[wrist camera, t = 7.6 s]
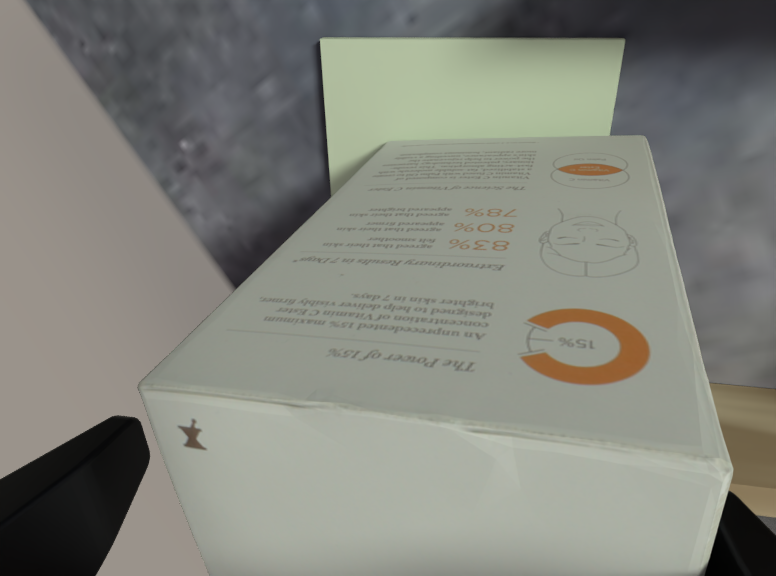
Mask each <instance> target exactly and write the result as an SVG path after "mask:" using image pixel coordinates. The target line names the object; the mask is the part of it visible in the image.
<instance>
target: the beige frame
mask: <svg viewBox="0 0 776 576" xmlns="http://www.w3.org/2000/svg"><path fill="white" fill-rule="evenodd" d="M709 385H710V389H711V393H712V397H713V401H714V405H715V408H716V412H717V416H718V420H719V424H720V427H721V431H722V434H723V438H724V441H725V444H726V447H727V451H728V454H729V457H730V460H731V463H732V467H733V476H732V480H731V483H730V487H729V491H731V492H733V493H734V494H735V495H737V496H738V497H739V498H740V499H741V500H742V501H743V502H744V504H745V505H746V506H747V507H748V508H749V509H750V510H751V511H752V512H753V513H754V514H755V515H761V516H768V517H776V389H767V388H756V387H746V386H735V385H725V384H714V383H709Z"/></svg>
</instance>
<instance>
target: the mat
mask: <svg viewBox="0 0 776 576" xmlns="http://www.w3.org/2000/svg"><path fill="white" fill-rule="evenodd" d="M624 45H625V39H624V38H349V37H323V38H321V39H320V47H321V61H322V75H323V89H324V103H325V117H326V131H327V144H328V158H329V172H330V186H331V197H332V196H333V195H334V194H335V193H336V192H337V191H338V190H339V189H340V188H341V187H342V186H343V185H344V184H345V183H346V182H347V181H348V180H349V179H350V178H351V177H352V176H353V175H354V174H355V173H356V172H357V171H358V170H359V169H360V168H361V167H362V166H363V165H365V164H366V163H367V162H368V161H369V160H370V159H371V158H372V157H373V156H374V155H375V154H376V153H377V152H378V151H379V150H380V149H381V148H382V147H383V146H384V145H385V144H386V143H387V142H389V141H405V140H433V139H472V138H518V137H567V136H610V130H611V124H612V118H613V112H614V106H615V100H616V94H617V88H618V81H619V75H620V69H621V63H622V57H623V51H624Z"/></svg>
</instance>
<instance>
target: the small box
mask: <svg viewBox="0 0 776 576" xmlns="http://www.w3.org/2000/svg"><path fill="white" fill-rule="evenodd" d="M138 390H139V393H140V395H141V397H142V400H143V403H144V406H145V409H146V412H147V414H148V417H149V421H150V423H151V426H152V429H153V432H154V435H155V438H156V440H157V444H158V446H159V449H160V452H161V455H162V457H163V460H164V463H165V465H166V468H167V471H168V473H169V476H170V478H171V481H172V483H173V486H174V489H175V491H176V494H177V497H178V499H179V502H180V504H181V507H182V509H183V512H184V514H185V517H186V519H187V522H188V524H189V527H190V529H191V532H192V534H193V537H194V539H195V542H196V544H197V546H198V549H199V551H200V554H201V557H202V559H203V560H204V563H205V566H206V568H207V571H208V573H209V576H705V572H706V568H707V565H708V561H709V558H710V554H711V551H712V547H713V543H714V540H715V536H716V533H717V529H718V526H719V522H720V518H721V515H722V511H723V508H724V504H725V501H726V497H727V494H728V490H729V487H730V483H731V480H732V476H733V467H732V463H731V460H730V457H729V454H728V451H727V447H726V444H725V441H724V438H723V434H722V431H721V427H720V424H719V420H718V416H717V412H716V408H715V405H714V401H713V397H712V393H711V389H710V385H709V381H708V378H707V375H706V372H705V368H704V365H703V361H702V357H701V352H700V348H699V344H698V340H697V336H696V332H695V328H694V324H693V320H692V316H691V312H690V307H689V303H688V299H687V295H686V291H685V287H684V283H683V279H682V275H681V271H680V267H679V264H678V260H677V256H676V251H675V248H674V244H673V240H672V235H671V231H670V227H669V223H668V219H667V214H666V210H665V205H664V202H663V198H662V193H661V189H660V185H659V181H658V177H657V174H656V170H655V166H654V162H653V158H652V154H651V151H650V147H649V144H648V141H647V139H646V137H644V136H642V135H629V136H567V137H518V138H472V139H433V140H405V141H389V142H387V143H386V144H385V145H384V146H383V147H382V148H381V149H380V150H379V151H378V152H377V153H376V154H375V155H374V156H373V157H372V158H371V159H370V160H369V161H368V162H367V163H366V164H365V165H363V166H362V167H361V168H360V169H359V170H358V171H357V172H356V173H355V174H354V175H353V176H352V177H351V178H350V179H349V180H348V181H347V182H346V183H345V184H344V185H343V186H342V187H341V188H340V189H339V190H338V191H337V192H336V193H335V194H334V195H333V196H332V197H331V198H330V199H329V200H328V201H327V202H326V203H325V204H324V205H322V206H321V207H320V208H319V209H318V210H317V211H316V212H315V213H314V214H313V215H312V216H311V217H310V218H309V219H308V220H307V221H306V222H305V223H304V224H303V225H302V226H301V227H300V228H299V229H298V230H297V231H295V232H294V233H293V234H292V235H291V236H290V237H289V238H288V239H287V240H286V241H285V242H284V243H283V244H282V245H281V246H280V247H279V248H278V249H277V250H276V251H275V252H274V253H273V254H272V255H271V256H270V257H269V258H268V259H267V260H266V261H265V262H264V263H263V264H262V265H261V266H259V267H258V268H257V269H256V270H255V271H254V272H253V273H252V274H251V275H250V276H249V277H248V278H247V279H246V280H245V281H244V282H243V283H242V284H241V285H240V286H239V287H238V288H237V289H236V290H235V291H234V292H233V293H232V294H231V295H230V296H229V297H228V298H226V299H225V300H224V301H223V302H222V303H221V304H220V305H219V306H218V307H217V308H216V309H215V310H214V311H213V312H212V313H211V314H210V315H209V316H208V317H207V318H206V319H205V320H204V321H203V322H202V323H201V324H199V326H197V328H195V329H194V330H193V331H192V332H191V333H190V334H189V335H188V336H187V337H186V338H185V339H184V340H183V341H182V342H181V343H180V344H179V345H178V346H177V347H176V348H175V349H174V350H173V351H172V352H171V353H170V354H169V355H168V356H167V357H166V358H164V359H163V361H161V362H160V363H159V364H158V365H157V366H156V367H155V368H154V369H153V370H152V371H151V372H150V373H149V374H148V375H147V376H146V377H145V378H144V379H143V380H142V381H141V382H140V383H139V384H138Z"/></svg>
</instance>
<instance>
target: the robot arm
mask: <svg viewBox="0 0 776 576" xmlns="http://www.w3.org/2000/svg"><path fill="white" fill-rule="evenodd" d="M149 460H150V451H149V448H148V445H147V441H146V438H145V435H144V431H143V428H142V425H141V422H140V421H139V420H138V419H137V418H135V417H127V416H119V415H118V416H112V417H110V418H108V419H107V420H105V421H103V422H101V423H100V424H98V425H96V426H94V427H93V428H91V429H89V430H87V431H85V432H84V433H82V434H80V435H78V436H76V437H75V438H73V439H71V440H69V441H68V442H66V443H64V444H62V445H60V446H59V447H57V448H55V449H53V450H51V451H50V452H48V453H46V454H44V455H43V456H41V457H39V458H37V459H36V460H34V461H32V462H30V463H28V464H27V465H25V466H23V467H21V468H19V469H18V470H16V471H14V472H12V473H11V474H9V475H7V476H5V477H3V478H2V479H0V576H96V574H97V572H98V571H99V569H100V567H101V565H102V564H103V562H104V560H105V558H106V556H107V554H108V553H109V551H110V549H111V547H112V545H113V543H114V541H115V539H116V536H117V534H118V532H119V530H120V528H121V525H122V523H123V521H124V519H125V517H126V514H127V512H128V510H129V508H130V505H131V503H132V501H133V499H134V496H135V494H136V492H137V490H138V487H139V485H140V482H141V481H142V478H143V476H144V474H145V472H146V469H147V467H148V464H149ZM705 576H776V535H775V534H774V533H773V532H772V531H771V530H770V529H769V528H768V527H767V526H766V525H765V524H764V523H763V522H762V521H761V520H760V519H759V518H758V517H757V516H756V515H755V514H754V513H753V512H752V511H751V510H750V509H749V508H748V507H747V506H746V505H745V504H744V502H743V501H742V500H741V499H740V498H739V497H738V496H737V495H735V494H734V493H733V492H731V491H729V490H728V494H727V497H726V501H725V504H724V508H723V511H722V515H721V518H720V522H719V526H718V529H717V533H716V536H715V540H714V543H713V547H712V551H711V554H710V558H709V561H708V565H707V568H706V572H705Z"/></svg>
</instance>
